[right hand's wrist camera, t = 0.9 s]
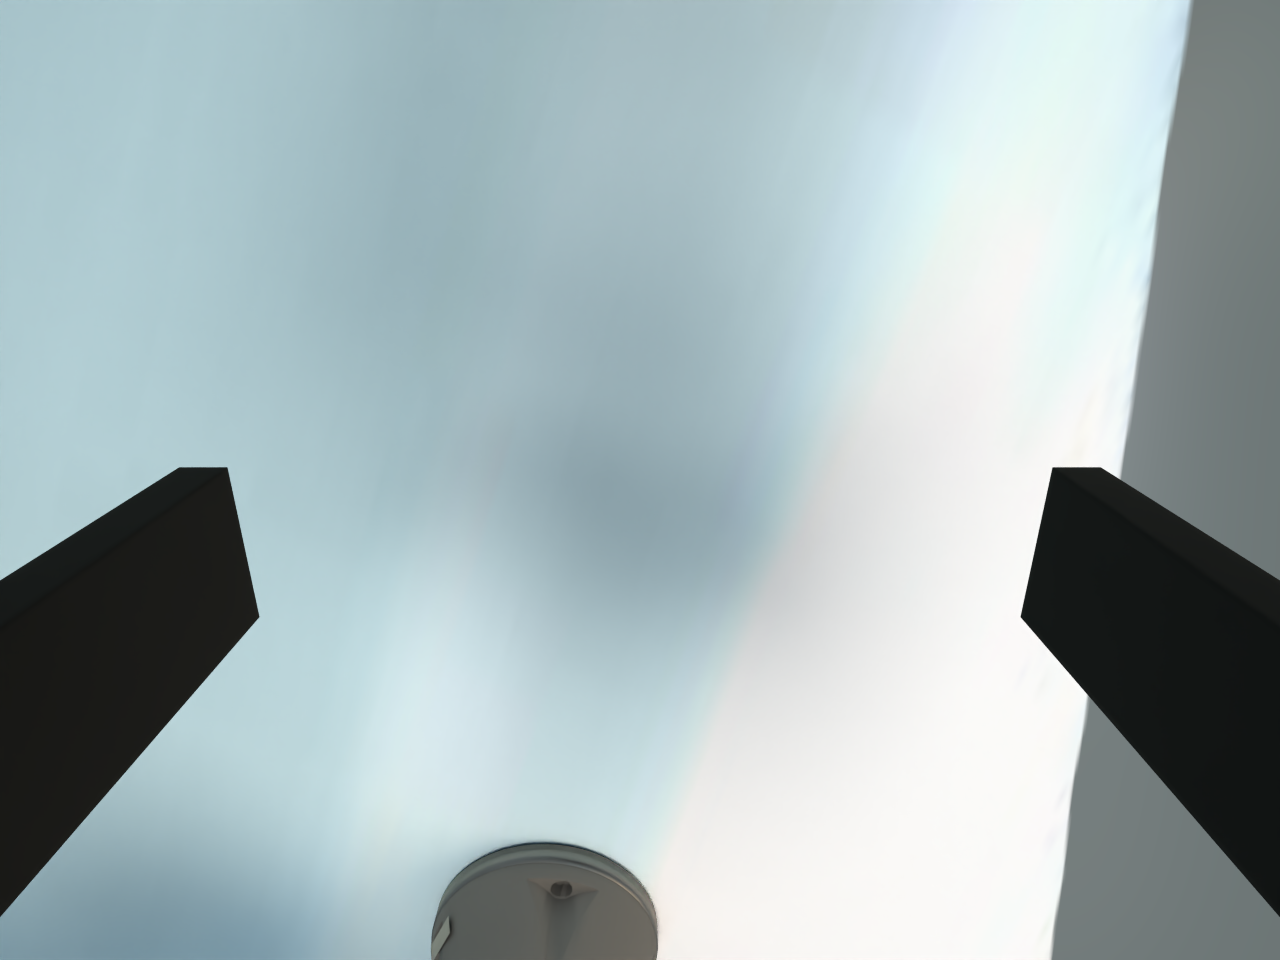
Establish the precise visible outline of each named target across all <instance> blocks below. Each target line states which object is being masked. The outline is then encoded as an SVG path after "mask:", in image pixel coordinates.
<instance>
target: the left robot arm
mask: <svg viewBox="0 0 1280 960" xmlns="http://www.w3.org/2000/svg"><path fill="white" fill-rule="evenodd" d="M657 951H658V940H657V919H656V913H655V910H654V907H653V904H652V902H651V900H650V898H649V896H648V894H647V893H646V891H645V890H644V888H643V887H642V886H641V884H640V883H639V882H638V881H637V880H636V879H635V878H634V877H633V876H632V875H631V874H630V873H628V872H627V871H626V870H625V869H623V868H622V867H620V866H619V865H618V864H616V863H614V862H612V861H611V860H609V859H607V858H605V857H603V856H600V855H598V854H595V853H593V852H590V851H587V850H583V849H580V848H575V847H570V846H564V845H555V844H532V845H522V846H517V847H511V848H507V849H504V850H500V851H497V852H495V853H492V854H489V855H487V856H485V857H483V858H481V859H479V860H477V861H476V862H474V863H472V864H471V865H469V866H468V867H467V868H465V869H464V870H463V871H462V872H461V873H459V874H458V875H457V876H456V877H455V879H454V880H453V881H452V882H451V883H450V885H449V886H448V887H447V889H446V891H445V892H444V894H443V896H442V899H441V901H440V904H439V907H438V911H437V915H436V918H435V922H434V926H433V930H432V942H431V959H432V960H656V958H657Z"/></svg>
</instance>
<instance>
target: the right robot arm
mask: <svg viewBox="0 0 1280 960" xmlns="http://www.w3.org/2000/svg"><path fill="white" fill-rule="evenodd" d="M258 618H259V613H258V608H257V603H256V599H255V594H254V589H253V585H252V580H251V575H250V571H249V566H248V561H247V557H246V552H245V547H244V543H243V538H242V533H241V529H240V524H239V519H238V515H237V510H236V505H235V501H234V496H233V491H232V487H231V482H230V477H229V473H228V468H227V467H179V468H178V469H176V470H174V471H173V472H171V473H170V474H168V475H167V476H165V477H163V478H162V479H160V480H159V481H157V482H155V483H154V484H152V485H151V486H149V487H147V488H146V489H144V490H143V491H141V492H140V493H138V494H136V495H135V496H133V497H132V498H130V499H128V500H127V501H125V502H124V503H122V504H121V505H119V506H117V507H116V508H114V509H113V510H111V511H109V512H108V513H106V514H105V515H103V516H102V517H100V518H98V519H97V520H95V521H94V522H92V523H90V524H89V525H87V526H86V527H84V528H83V529H81V530H79V531H78V532H76V533H75V534H73V535H71V536H70V537H68V538H67V539H65V540H64V541H62V542H60V543H59V544H57V545H56V546H54V547H52V548H51V549H49V550H48V551H46V552H45V553H43V554H41V555H40V556H38V557H37V558H35V559H33V560H32V561H30V562H29V563H27V564H26V565H24V566H22V567H21V568H19V569H18V570H16V571H14V572H13V573H11V574H10V575H8V576H7V577H5V578H3V579H2V580H0V917H1V915H2V914H3V913H4V912H5V911H6V910H7V908H8V907H9V906H10V905H11V904H12V903H13V902H14V900H15V899H16V898H17V897H18V896H19V895H20V893H21V892H22V891H23V890H24V889H25V888H26V887H27V885H28V884H29V883H30V882H31V881H32V880H33V878H34V877H35V876H36V875H37V874H38V873H39V871H40V870H41V869H42V868H43V867H44V866H45V865H46V863H47V862H48V861H49V860H50V859H51V858H52V856H53V855H54V854H55V853H56V852H57V851H58V849H59V848H60V847H61V846H62V845H63V844H64V843H65V841H66V840H67V839H68V838H69V837H70V836H71V834H72V833H73V832H74V831H75V830H76V829H77V827H78V826H79V825H80V824H81V823H82V822H83V821H84V819H85V818H86V817H87V816H88V815H89V814H90V812H91V811H92V810H93V809H94V808H95V807H96V805H97V804H98V803H99V802H100V801H101V800H102V799H103V797H104V796H105V795H106V794H107V793H108V792H109V790H110V789H111V788H112V787H113V786H114V785H115V784H116V782H117V781H118V780H119V779H120V778H121V777H122V775H123V774H124V773H125V772H126V771H127V770H128V768H129V767H130V766H131V765H132V764H133V763H134V762H135V760H136V759H137V758H138V757H139V756H140V755H141V753H142V752H143V751H144V750H145V749H146V748H147V746H148V745H149V744H150V743H151V742H152V741H153V740H154V738H155V737H156V736H157V735H158V734H159V733H160V731H161V730H162V729H163V728H164V727H165V726H166V724H167V723H168V722H169V721H170V720H171V719H172V718H173V716H174V715H175V714H176V713H177V712H178V711H179V709H180V708H181V707H182V706H183V705H184V704H185V703H186V701H187V700H188V699H189V698H190V697H191V696H192V694H193V693H194V692H195V691H196V690H197V689H198V687H199V686H200V685H201V684H202V683H203V682H204V681H205V679H206V678H207V677H208V676H209V675H210V674H211V672H212V671H213V670H214V669H215V668H216V667H217V665H218V664H219V663H220V662H221V661H222V660H223V659H224V657H225V656H226V655H227V654H228V653H229V652H230V650H231V649H232V648H233V647H234V646H235V645H236V643H237V642H238V641H239V640H240V639H241V638H242V637H243V635H244V634H245V633H246V632H247V631H248V630H249V628H250V627H251V626H252V625H253V624H254V623H255V622H256V620H257V619H258ZM1021 618H1022V619H1023V620H1024V622H1025V623H1026V624H1027V625H1028V626H1029V627H1030V628H1031V630H1032V631H1033V632H1034V633H1035V634H1036V635H1037V637H1038V638H1039V639H1040V640H1041V641H1042V642H1043V643H1044V645H1045V646H1046V647H1047V648H1048V649H1049V650H1050V652H1051V653H1052V654H1053V655H1054V656H1055V657H1056V659H1057V660H1058V661H1059V662H1060V663H1061V664H1062V665H1063V667H1064V668H1065V669H1066V670H1067V671H1068V672H1069V674H1070V675H1071V676H1072V677H1073V678H1074V679H1075V681H1076V682H1077V683H1078V684H1079V685H1080V686H1081V687H1082V689H1083V690H1084V691H1085V692H1086V693H1087V694H1088V696H1089V697H1090V698H1091V699H1092V700H1093V701H1094V703H1095V704H1096V705H1097V706H1098V707H1099V708H1100V709H1101V711H1102V712H1103V713H1104V714H1105V715H1106V716H1107V718H1108V719H1109V720H1110V721H1111V722H1112V723H1113V724H1114V726H1115V727H1116V728H1117V729H1118V730H1119V731H1120V733H1121V734H1122V735H1123V736H1124V737H1125V738H1126V740H1127V741H1128V742H1129V743H1130V744H1131V745H1132V746H1133V748H1134V749H1135V750H1136V751H1137V752H1138V753H1139V755H1140V756H1141V757H1142V758H1143V759H1144V760H1145V762H1146V763H1147V764H1148V765H1149V766H1150V767H1151V768H1152V770H1153V771H1154V772H1155V773H1156V774H1157V775H1158V776H1159V778H1160V779H1161V780H1162V781H1163V782H1164V784H1165V785H1166V786H1167V787H1168V788H1169V789H1170V790H1171V792H1172V793H1173V794H1174V795H1175V796H1176V797H1177V799H1178V800H1179V801H1180V802H1181V803H1182V804H1183V805H1184V807H1185V808H1186V809H1187V810H1188V811H1189V812H1190V814H1191V815H1192V816H1193V817H1194V818H1195V819H1196V821H1197V822H1198V823H1199V824H1200V825H1201V826H1202V827H1203V829H1204V830H1205V831H1206V832H1207V833H1208V834H1209V836H1210V837H1211V838H1212V839H1213V840H1214V841H1215V843H1216V844H1217V845H1218V846H1219V847H1220V848H1221V849H1222V851H1223V852H1224V853H1225V854H1226V855H1227V856H1228V858H1229V859H1230V860H1231V861H1232V862H1233V863H1234V865H1235V866H1236V867H1237V868H1238V869H1239V870H1240V871H1241V873H1242V874H1243V875H1244V876H1245V877H1246V878H1247V879H1248V881H1249V882H1250V883H1251V884H1252V885H1253V887H1254V888H1255V889H1256V890H1257V891H1258V892H1259V893H1260V895H1261V896H1262V897H1263V898H1264V899H1265V900H1266V902H1267V903H1268V904H1269V905H1270V906H1271V907H1272V908H1273V910H1274V911H1275V912H1276V913H1277V914H1278V915H1279V917H1280V580H1278V579H1277V578H1275V577H1273V576H1272V575H1270V574H1269V573H1267V572H1266V571H1264V570H1262V569H1261V568H1259V567H1258V566H1256V565H1254V564H1253V563H1251V562H1250V561H1248V560H1246V559H1245V558H1243V557H1242V556H1240V555H1239V554H1237V553H1235V552H1234V551H1232V550H1231V549H1229V548H1228V547H1226V546H1224V545H1223V544H1221V543H1220V542H1218V541H1216V540H1215V539H1213V538H1212V537H1210V536H1208V535H1207V534H1205V533H1204V532H1202V531H1201V530H1199V529H1197V528H1196V527H1194V526H1193V525H1191V524H1190V523H1188V522H1186V521H1185V520H1183V519H1182V518H1180V517H1178V516H1177V515H1175V514H1174V513H1172V512H1170V511H1169V510H1167V509H1166V508H1164V507H1163V506H1161V505H1159V504H1158V503H1156V502H1155V501H1153V500H1152V499H1150V498H1148V497H1147V496H1145V495H1144V494H1142V493H1140V492H1139V491H1137V490H1136V489H1134V488H1132V487H1131V486H1129V485H1128V484H1126V483H1125V482H1123V481H1121V480H1120V479H1118V478H1117V477H1115V476H1113V475H1112V474H1110V473H1109V472H1107V471H1106V470H1104V469H1102V468H1101V467H1053V468H1052V473H1051V477H1050V482H1049V487H1048V491H1047V496H1046V501H1045V505H1044V510H1043V515H1042V519H1041V524H1040V529H1039V533H1038V538H1037V543H1036V547H1035V552H1034V557H1033V561H1032V566H1031V571H1030V575H1029V580H1028V585H1027V589H1026V594H1025V599H1024V603H1023V608H1022V613H1021Z"/></svg>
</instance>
